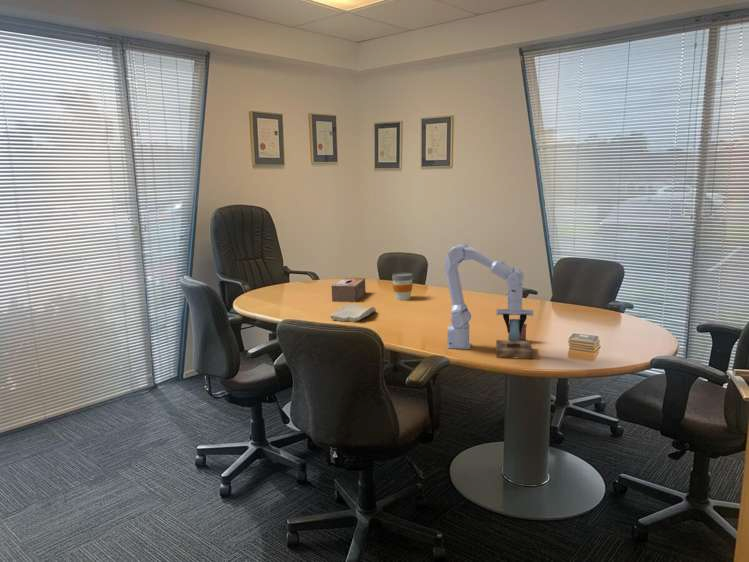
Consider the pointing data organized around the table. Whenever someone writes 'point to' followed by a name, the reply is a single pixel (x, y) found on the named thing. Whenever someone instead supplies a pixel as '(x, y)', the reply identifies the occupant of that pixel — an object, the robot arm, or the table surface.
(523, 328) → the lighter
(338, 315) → the folded grey cloth
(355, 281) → the tissue box cover
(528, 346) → the socket block
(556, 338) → the table surface
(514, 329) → the peg
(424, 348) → the table surface
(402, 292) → the reusable coffee cup
